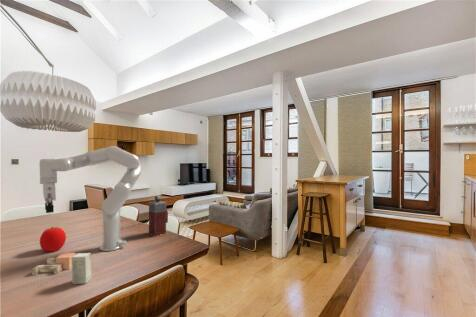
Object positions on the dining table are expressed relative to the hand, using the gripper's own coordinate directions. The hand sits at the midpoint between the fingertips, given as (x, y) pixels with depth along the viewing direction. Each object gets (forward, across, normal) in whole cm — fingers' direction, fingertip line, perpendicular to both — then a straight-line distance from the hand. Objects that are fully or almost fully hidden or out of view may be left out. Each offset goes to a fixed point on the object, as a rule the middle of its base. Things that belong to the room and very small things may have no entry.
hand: (49, 210), depth 132 cm
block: (+26, -21, -5) cm, 34 cm away
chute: (+26, -18, -1) cm, 32 cm away
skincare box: (+26, -43, -9) cm, 51 cm away
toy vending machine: (+27, -2, -62) cm, 68 cm away
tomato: (+26, +10, -2) cm, 28 cm away
